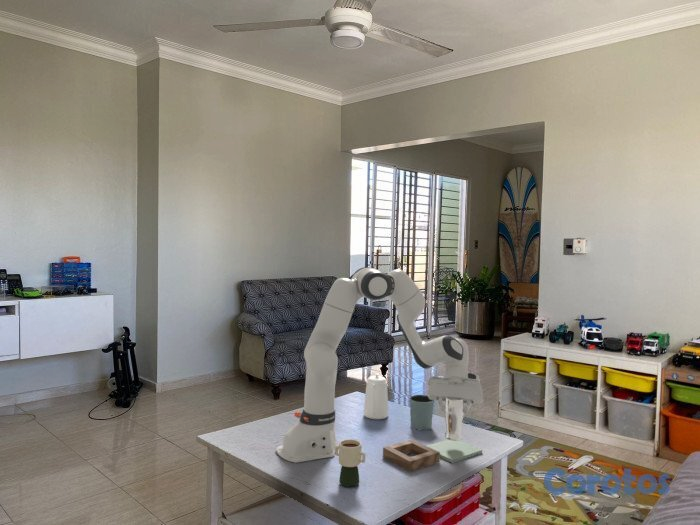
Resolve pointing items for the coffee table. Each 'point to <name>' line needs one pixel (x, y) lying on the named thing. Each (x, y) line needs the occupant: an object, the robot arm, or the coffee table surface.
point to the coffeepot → (376, 398)
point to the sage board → (454, 450)
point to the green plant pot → (421, 412)
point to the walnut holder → (422, 458)
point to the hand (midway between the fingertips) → (454, 411)
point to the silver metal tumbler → (453, 418)
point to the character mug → (349, 461)
